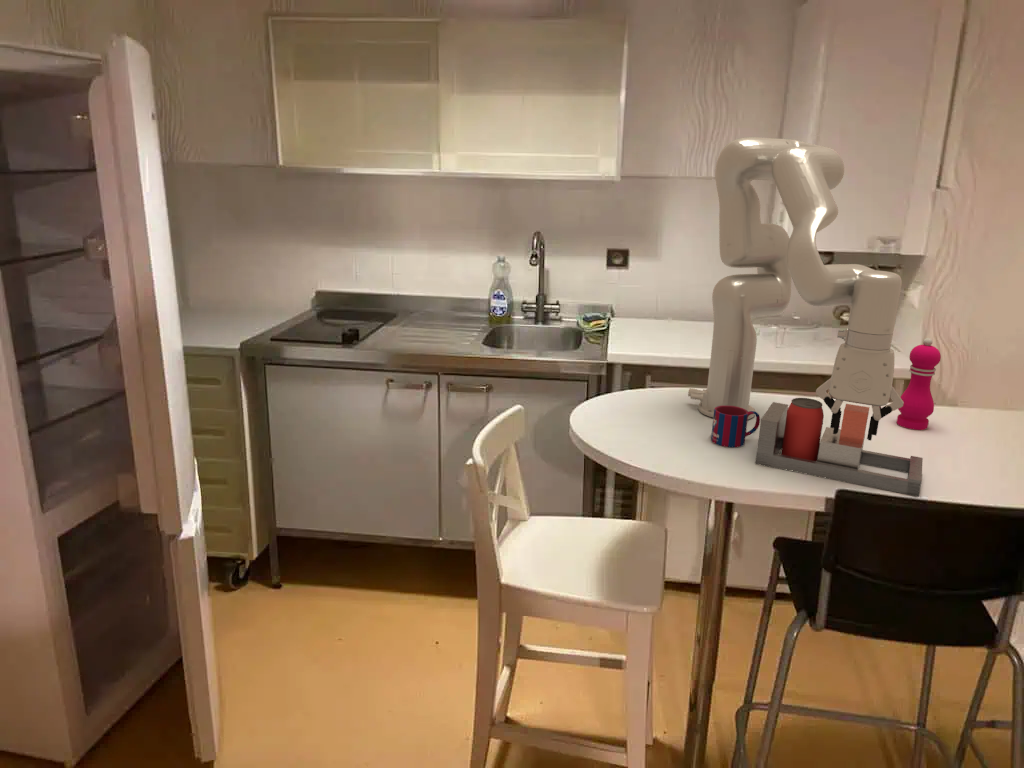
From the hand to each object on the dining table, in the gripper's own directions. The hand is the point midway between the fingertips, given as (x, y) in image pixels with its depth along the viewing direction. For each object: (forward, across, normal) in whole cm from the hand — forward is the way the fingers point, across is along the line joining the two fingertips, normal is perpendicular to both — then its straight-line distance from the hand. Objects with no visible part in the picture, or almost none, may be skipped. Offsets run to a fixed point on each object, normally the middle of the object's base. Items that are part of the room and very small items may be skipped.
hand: (852, 434), depth 143 cm
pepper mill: (+7, +10, +36) cm, 38 cm away
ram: (+7, -1, 0) cm, 7 cm away
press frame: (+7, -2, 0) cm, 7 cm away
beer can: (+7, -9, 0) cm, 11 cm away
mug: (+8, -22, +4) cm, 23 cm away
